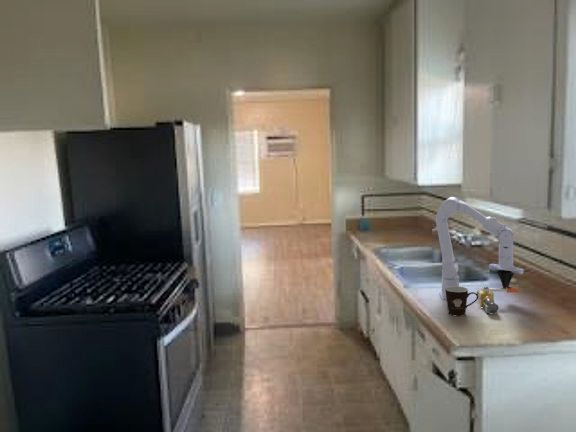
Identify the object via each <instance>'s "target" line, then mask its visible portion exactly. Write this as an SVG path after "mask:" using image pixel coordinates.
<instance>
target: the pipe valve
mask: <svg viewBox="0 0 576 432" xmlns="http://www.w3.org/2000/svg"><path fill="white" fill-rule="evenodd" d="M476 291H477V292H476V294H477V295H478V299H477V304H479V305H480V306H479V305H478V306H479V307H480V308H481V307H485V308H484V309H485V310H484V311H485V312H484V313H493V314H492V315H496V314H495V313H497V314H498V311H499V305H498V304H497V303H495V299H494V298H495V294H494V293H495V292H494V291H489V292H483V288H481V289H478V290H476Z"/></svg>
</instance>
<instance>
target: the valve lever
mask: <svg viewBox="0 0 576 432" xmlns="http://www.w3.org/2000/svg"><path fill="white" fill-rule="evenodd" d="M482 289H483V292H489V291H492V292H506V293H519V291H520V288H519V287H518V286H509V287H506V288H503V287H500V288H499V287H497V288H495V287H494V288H493V287H490V288H489V287H488V286H483V287H482Z"/></svg>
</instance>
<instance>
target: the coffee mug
mask: <svg viewBox="0 0 576 432" xmlns="http://www.w3.org/2000/svg"><path fill="white" fill-rule="evenodd" d="M445 291H446V298H447V299H446V304H447V311H448V312H447V313H448V315H450V314H451V315H450V316H453V315H456V316H455V317H462V316H461V315H463V316H465V315H466V311H467V308H468V307H469V306H471V305H473V304H475V303H476V302H478V295H477V292H474V291H473V292H471V291H470V292H469V289H468V287H465V286H460V285H459V286H451V287H447V288H445ZM472 294H473V295H475V296H476V298H475V299H474V301H472V302H470V303H468V301H467V300H468V298H469V296H470V295H472ZM467 303H468V304H467Z"/></svg>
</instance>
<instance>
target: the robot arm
mask: <svg viewBox="0 0 576 432" xmlns="http://www.w3.org/2000/svg"><path fill="white" fill-rule="evenodd" d="M455 212H456V213H457V214H465V215H467V216H468V217H471V218H472V219H474V220H475V221H477V222H478V223H480V224H481V228H482V229H484V230H485V231H487V232H488V233H490V234H492V235H493V236H495V237H498V238H497V239H498V241H499V245H498V264H495V263H490V264H489V265H488V269H489V270H497V272H496V273H497V276H498V277H499V279H500V281H501V285H502V288H506V287H510V283H511V281H512V278H513V277H514V275H515V274H519V275H523V274H524V269H523V268H520V267H517V266H514V248H515V246H514V238H515V232H514V230H513V229H512V228H511V227H510V226H507V224H503V223H501V222H500V221H498V220H497V218H496V217H495V216H493V217H492V216H485V215H484V214H482V213H481V212H479V211H478V210H476V208H474V207H473V206H471V205H469V204H468V203H466V202H465V201H463V200H461V199H459V198H458V197H456V196H450V197H447V198H446V199H445V200H444V201H443V202H442V203H441V204H440V206H439V208H438V210H437V212H436V214H435V218H434V220H435V225H436V230H437V235H438V240H439V246H440V247H439V248H440V253H441V257H442V258H441V261H442V262H441V264H442V269H441V291H440V292H439V295H440V297H441V299H442V300H447V298H446V291H445V288H447V287H451V286H460V276H459V274H458V272H459V270H460V265H459V264H458V262H457V261H456V256H455V255H454V251H453V245H452V240H451V239H452V238H451V235H450V228H449V223H448V219H449V218H450V217H451V216H452V215H453V214H455Z"/></svg>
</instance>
